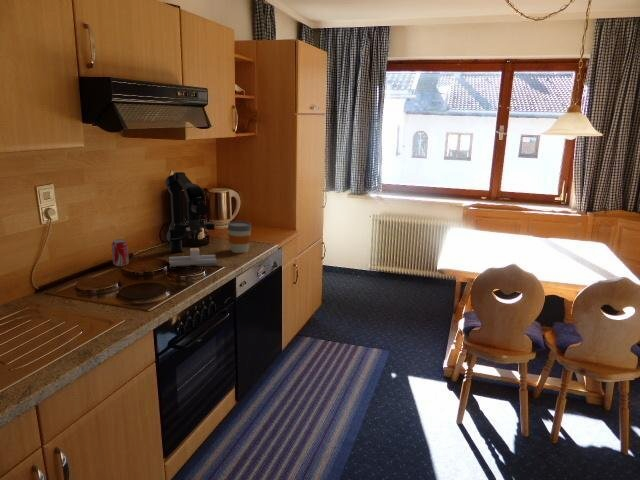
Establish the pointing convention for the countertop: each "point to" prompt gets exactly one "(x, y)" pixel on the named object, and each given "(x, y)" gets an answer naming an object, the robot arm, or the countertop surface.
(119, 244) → the soda can
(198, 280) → the countertop surface
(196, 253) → the block
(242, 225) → the reusable coffee cup
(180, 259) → the rail
